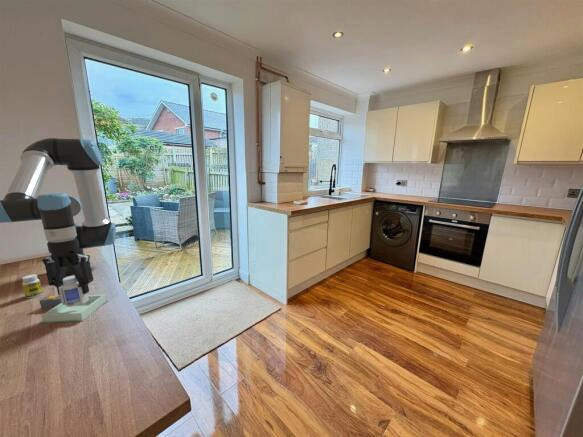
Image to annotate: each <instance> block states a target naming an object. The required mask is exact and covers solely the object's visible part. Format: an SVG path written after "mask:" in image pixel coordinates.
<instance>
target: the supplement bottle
mask: <svg viewBox="0 0 583 437" xmlns="http://www.w3.org/2000/svg"><path fill="white" fill-rule="evenodd" d="M21 279H22V283H21V286H22V289H23V294H24V297H25V298H26V299H33V298H37V297H39V296H42V294H43V291H42V290H43V289H42V286H41V281H40V279H39V278H38V275H37V274H29V275H25V276H23V277H22V278H21Z"/></svg>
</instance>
